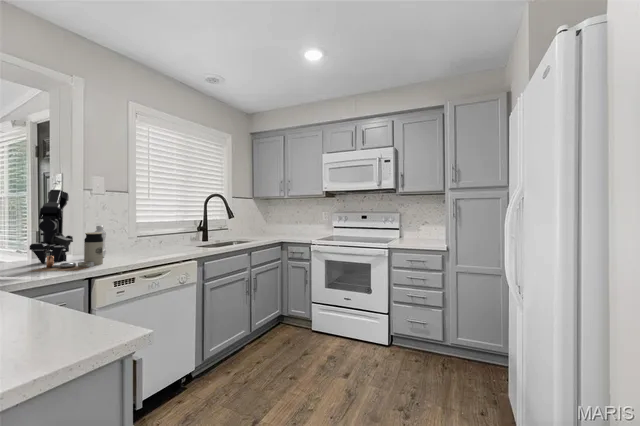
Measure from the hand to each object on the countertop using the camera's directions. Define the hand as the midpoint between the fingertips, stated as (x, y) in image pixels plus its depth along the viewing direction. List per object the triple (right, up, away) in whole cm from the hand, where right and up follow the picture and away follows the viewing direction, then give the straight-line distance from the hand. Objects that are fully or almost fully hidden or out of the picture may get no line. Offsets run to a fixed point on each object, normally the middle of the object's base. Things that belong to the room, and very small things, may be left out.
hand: (50, 262), depth 150 cm
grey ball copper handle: (+5, -2, +1) cm, 5 cm away
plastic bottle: (-6, -4, +42) cm, 43 cm away
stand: (+8, -4, -2) cm, 9 cm away
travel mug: (+13, -4, +11) cm, 18 cm away
